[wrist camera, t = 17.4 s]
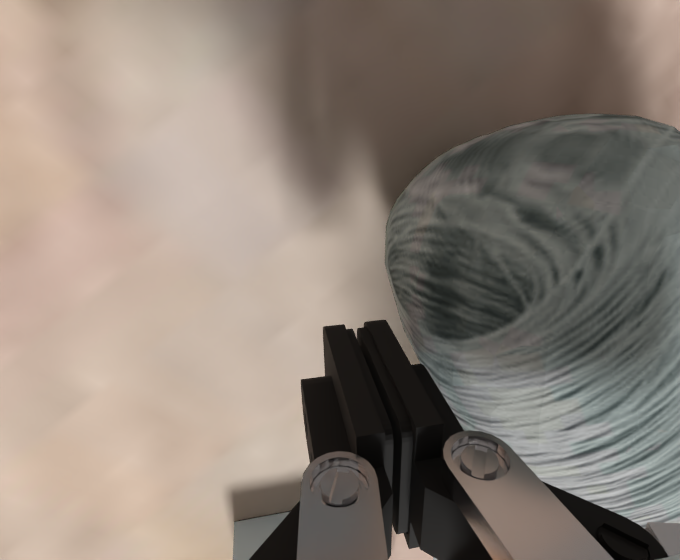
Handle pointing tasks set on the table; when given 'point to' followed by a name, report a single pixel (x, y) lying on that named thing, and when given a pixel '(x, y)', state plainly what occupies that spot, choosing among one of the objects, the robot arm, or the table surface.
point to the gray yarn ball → (555, 299)
